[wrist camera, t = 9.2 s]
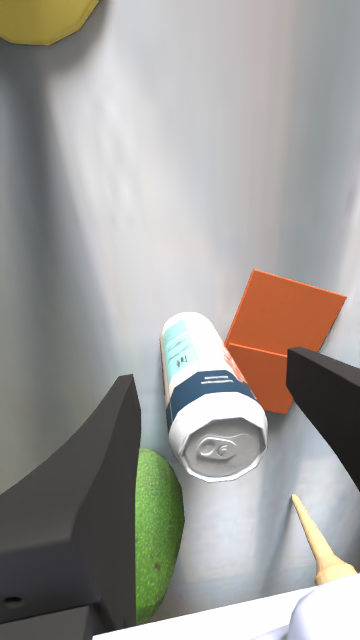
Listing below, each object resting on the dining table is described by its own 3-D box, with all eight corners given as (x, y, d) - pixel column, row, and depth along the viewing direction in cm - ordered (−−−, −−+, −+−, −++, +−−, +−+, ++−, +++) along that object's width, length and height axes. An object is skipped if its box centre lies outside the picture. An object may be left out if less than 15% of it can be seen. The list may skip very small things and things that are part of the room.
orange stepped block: (344, 295, 23) (349, 297, 22) (283, 411, 27) (286, 416, 26) (253, 268, 21) (256, 270, 20) (203, 397, 25) (204, 402, 24)
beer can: (202, 364, 24) (250, 494, 13) (152, 353, 23) (156, 483, 12) (221, 318, 22) (295, 418, 11) (168, 303, 21) (191, 398, 10)
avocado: (91, 476, 27) (52, 654, 16) (119, 422, 25) (97, 584, 14) (160, 492, 29) (166, 658, 18) (191, 442, 27) (221, 598, 16)
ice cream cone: (322, 484, 32) (454, 687, 18) (297, 513, 34) (400, 719, 20) (287, 475, 31) (401, 687, 17) (262, 505, 32) (348, 721, 18)
